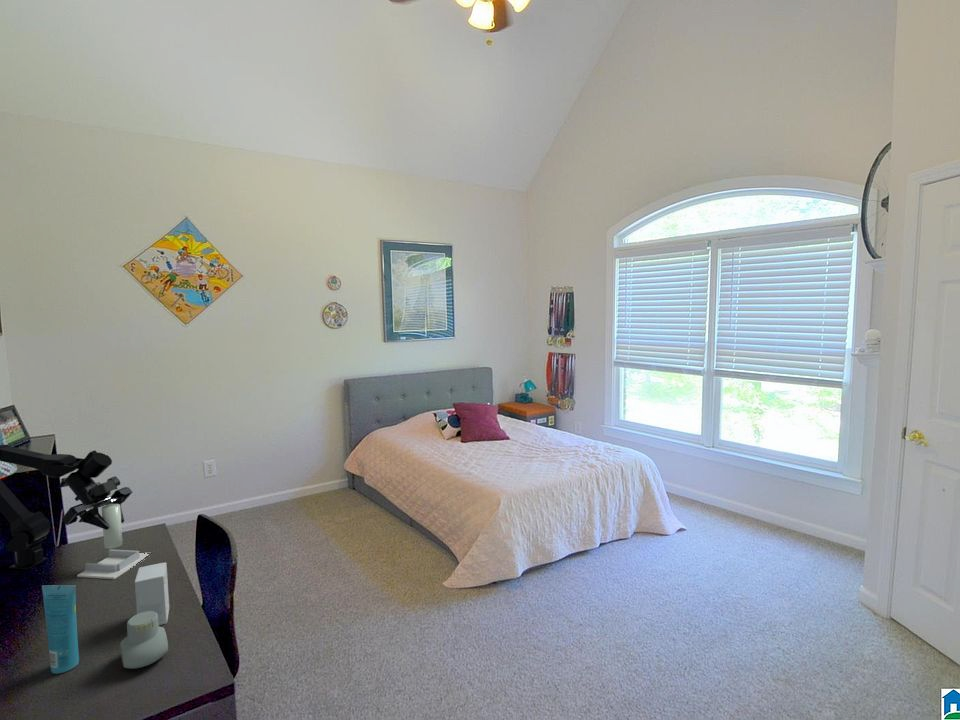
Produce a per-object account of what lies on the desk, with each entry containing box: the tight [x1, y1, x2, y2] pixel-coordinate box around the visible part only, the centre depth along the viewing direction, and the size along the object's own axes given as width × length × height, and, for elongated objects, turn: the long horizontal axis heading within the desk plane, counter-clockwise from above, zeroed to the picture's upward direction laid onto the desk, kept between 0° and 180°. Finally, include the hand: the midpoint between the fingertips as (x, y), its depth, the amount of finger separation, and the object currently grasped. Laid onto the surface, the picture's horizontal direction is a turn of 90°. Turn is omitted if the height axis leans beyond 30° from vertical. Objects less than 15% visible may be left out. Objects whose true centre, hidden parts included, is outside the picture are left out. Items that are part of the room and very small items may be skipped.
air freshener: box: [119, 611, 169, 670], centre depth 113 cm, size 11×8×10 cm
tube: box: [41, 584, 80, 675], centre depth 110 cm, size 7×5×19 cm, turn 96°
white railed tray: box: [76, 548, 149, 580], centre depth 155 cm, size 12×15×3 cm
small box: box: [133, 562, 170, 626], centre depth 127 cm, size 8×6×13 cm
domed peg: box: [101, 504, 124, 550], centre depth 153 cm, size 5×5×12 cm
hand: (115, 525), depth 153 cm, fingers closed on domed peg, 5 cm apart
